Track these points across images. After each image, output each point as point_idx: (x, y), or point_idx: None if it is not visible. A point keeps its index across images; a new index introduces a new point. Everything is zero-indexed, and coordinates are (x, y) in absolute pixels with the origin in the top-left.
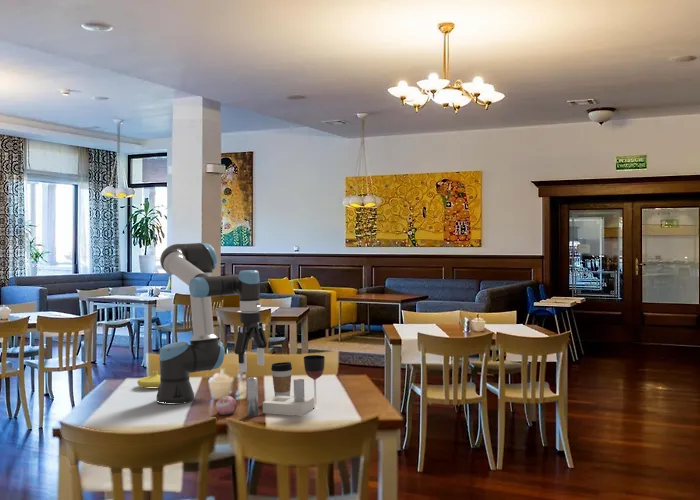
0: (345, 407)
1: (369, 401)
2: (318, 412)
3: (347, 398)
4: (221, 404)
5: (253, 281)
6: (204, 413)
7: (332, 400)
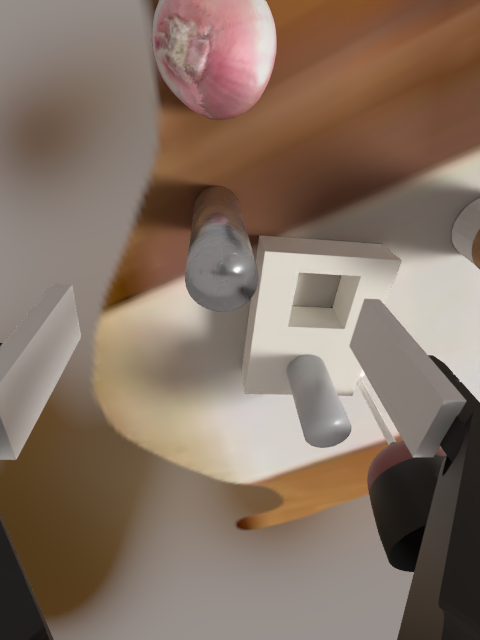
0: (352, 433)
1: None
2: (292, 395)
3: None
4: (153, 43)
5: None
6: None
7: None
